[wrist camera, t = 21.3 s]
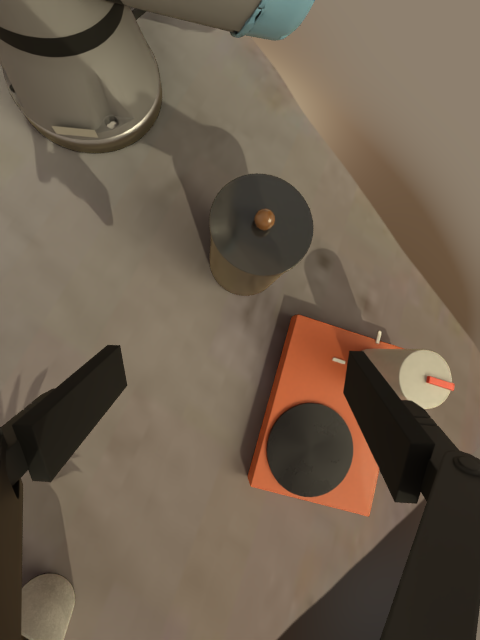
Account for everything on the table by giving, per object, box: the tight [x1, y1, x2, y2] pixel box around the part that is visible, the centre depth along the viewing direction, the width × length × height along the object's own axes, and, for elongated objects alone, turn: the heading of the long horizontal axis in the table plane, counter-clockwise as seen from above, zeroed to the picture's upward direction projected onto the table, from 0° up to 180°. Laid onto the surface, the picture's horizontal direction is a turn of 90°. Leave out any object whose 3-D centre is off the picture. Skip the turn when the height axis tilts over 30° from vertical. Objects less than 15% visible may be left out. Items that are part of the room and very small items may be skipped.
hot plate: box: [248, 314, 403, 516], centre depth 30 cm, size 19×14×2 cm
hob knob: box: [362, 349, 455, 409], centre depth 26 cm, size 5×5×8 cm
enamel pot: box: [209, 174, 313, 296], centre depth 26 cm, size 8×8×11 cm
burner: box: [266, 403, 353, 497], centre depth 28 cm, size 9×9×1 cm
